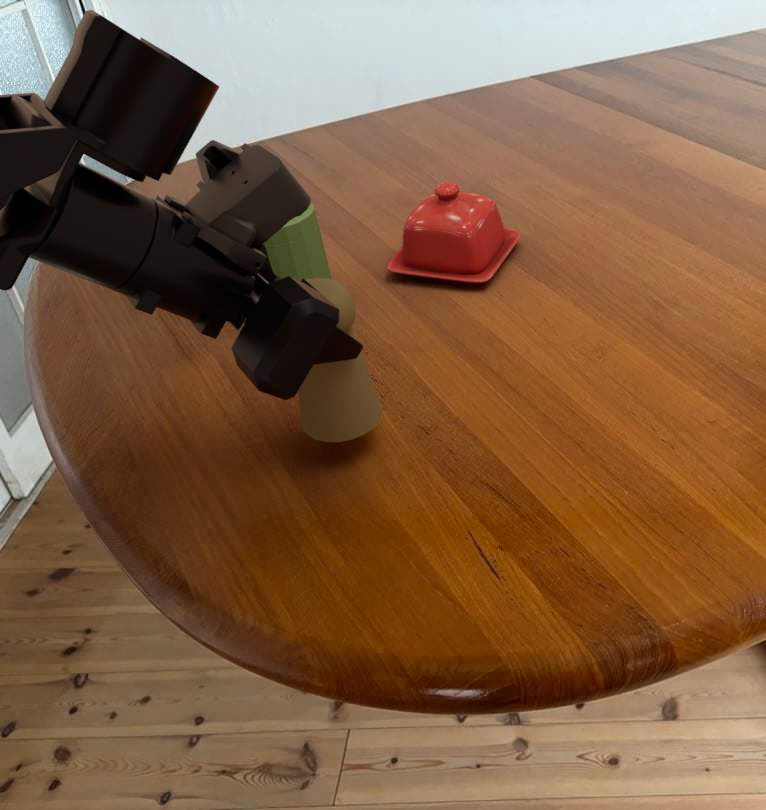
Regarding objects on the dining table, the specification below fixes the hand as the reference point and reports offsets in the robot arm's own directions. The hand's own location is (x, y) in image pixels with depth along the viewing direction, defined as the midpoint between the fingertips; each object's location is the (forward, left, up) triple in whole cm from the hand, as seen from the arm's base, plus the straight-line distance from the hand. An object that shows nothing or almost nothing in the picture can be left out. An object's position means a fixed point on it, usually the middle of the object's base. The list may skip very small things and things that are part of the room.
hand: (342, 336), depth 58 cm
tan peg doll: (-1, -1, -7) cm, 7 cm away
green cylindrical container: (-4, +22, -9) cm, 24 cm away
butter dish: (+12, +26, -9) cm, 30 cm away
